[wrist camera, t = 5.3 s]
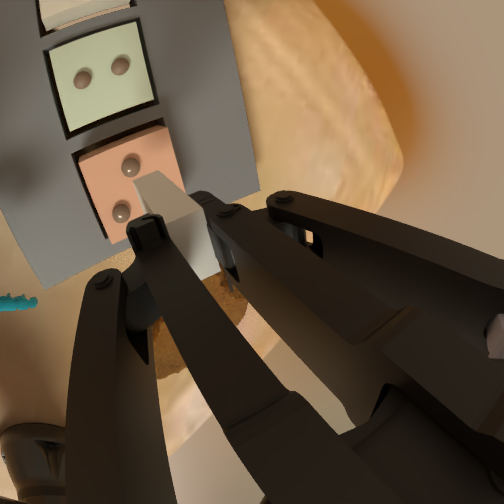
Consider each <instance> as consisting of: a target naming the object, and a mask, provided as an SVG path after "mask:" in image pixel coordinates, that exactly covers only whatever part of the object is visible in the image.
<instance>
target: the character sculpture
mask: <svg viewBox="0 0 504 504" xmlns="http://www.w3.org/2000/svg"><path fill="white" fill-rule="evenodd" d="M37 302H38V301H37V298H36V297H33V298H30V300H27V299H25V295H24V294H23V295H22V297H21V296H17V297H10V294H9V293H8V294H7V296H6V297H5V296H1V297H0V312H1V311H4V310H5V311H15V310H16V309H19V310H26V309H28V308H29V307H31V308H34V307H36V305H37V304H38V303H37Z"/></svg>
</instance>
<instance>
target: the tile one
mask: <svg viewBox="0 0 504 504" xmlns="http://www.w3.org/2000/svg"><path fill="white" fill-rule="evenodd" d="M129 2H130V0H39V3H40V11H41V19H42V22H43V24H44V26H45V29H46V31H48V30H51V29H53V28H55V27H58V26H60V25H63V24H65V23H68V22H71V21H74V20H76V19H79V18H82V17H85V16H88V15H91V14H94V13H97V12H101V11H104V10H108V9H111V8H115V7H118V6H122V5H126V4H129Z"/></svg>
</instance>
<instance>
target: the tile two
mask: <svg viewBox="0 0 504 504" xmlns="http://www.w3.org/2000/svg"><path fill="white" fill-rule="evenodd" d="M49 53H50V58H51V63H52V67H53V72H54V76H55V80H56V84H57V88H58V92H59V96H60V99H61V103H62V107H63V110H64V114H65V117H66V120H67V124H68V127H69V130H70V132H71V131H73V130H75V129H77V128H80V127H82V126H84V125H86V124H89V123H91V122H93V121H96V120H98V119H101V118H103V117H106V116H108V115H111V114H113V113H116V112H119V111H121V110H124V109H127V108H130V107H133V106H135V105H138V104H141V103H144V102H147V101H150V100H153V99H154V97H153V93H152V89H151V85H150V81H149V77H148V73H147V69H146V64H145V60H144V56H143V51H142V47H141V43H140V38H139V33H138V29H137V24H136V22H133V23H129V24H125V25H122V26H118V27H115V28H111V29H108V30H105V31H101V32H98V33H95V34H92V35H89V36H87V37H84V38H81V39H78V40H76V41H73V42H70V43H68V44H65V45H63V46H60V47H58V48H56V49H53V50H51V51H49Z"/></svg>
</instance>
